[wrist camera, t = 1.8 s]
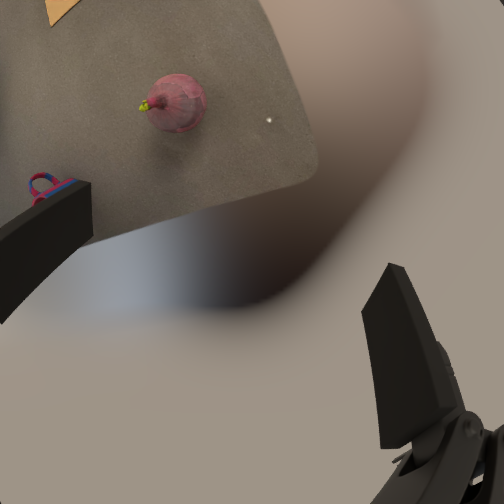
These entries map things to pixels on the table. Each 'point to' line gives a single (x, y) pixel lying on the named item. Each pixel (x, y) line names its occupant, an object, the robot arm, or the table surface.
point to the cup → (49, 192)
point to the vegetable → (175, 103)
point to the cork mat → (58, 9)
